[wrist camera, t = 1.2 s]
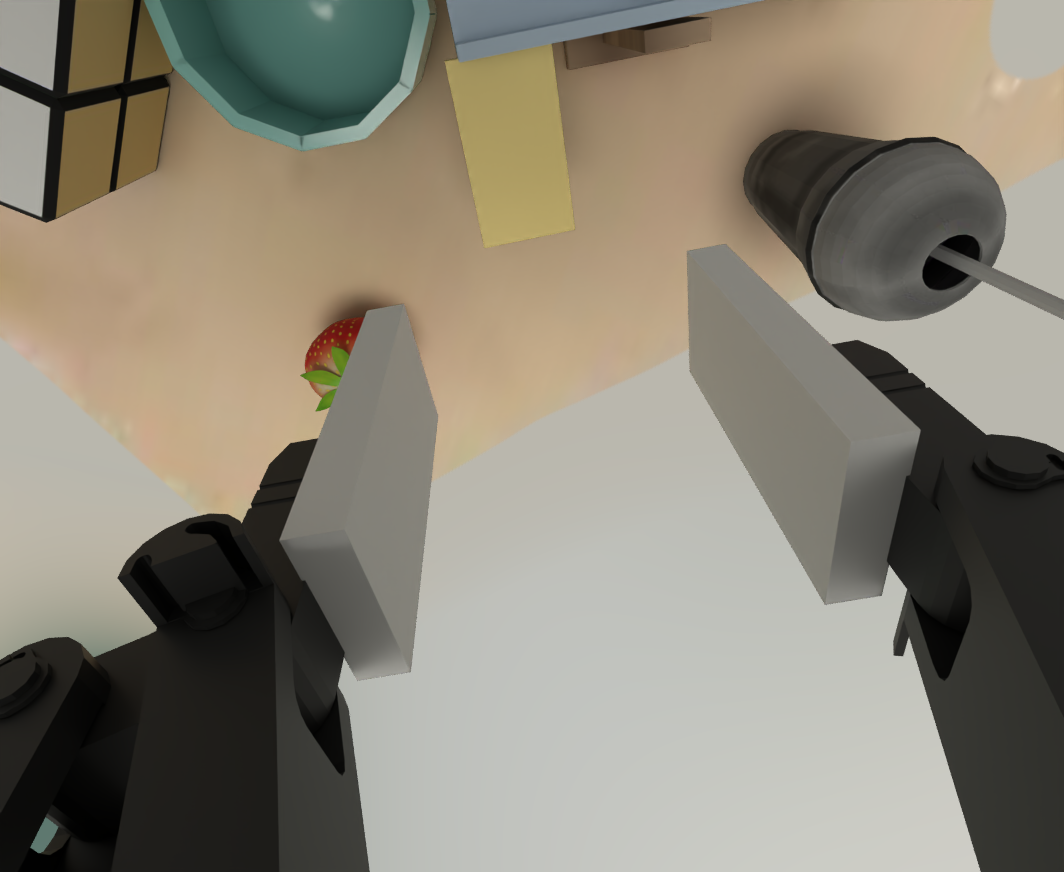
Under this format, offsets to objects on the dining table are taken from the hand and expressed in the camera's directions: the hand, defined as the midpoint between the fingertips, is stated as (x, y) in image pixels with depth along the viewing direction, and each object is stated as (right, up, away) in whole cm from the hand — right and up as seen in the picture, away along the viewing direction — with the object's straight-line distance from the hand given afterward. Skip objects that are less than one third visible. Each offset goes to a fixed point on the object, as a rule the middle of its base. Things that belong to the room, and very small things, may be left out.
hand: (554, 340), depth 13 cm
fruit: (-11, +5, +26) cm, 29 cm away
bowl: (-11, +19, +16) cm, 27 cm away
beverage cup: (+14, +13, +23) cm, 30 cm away
